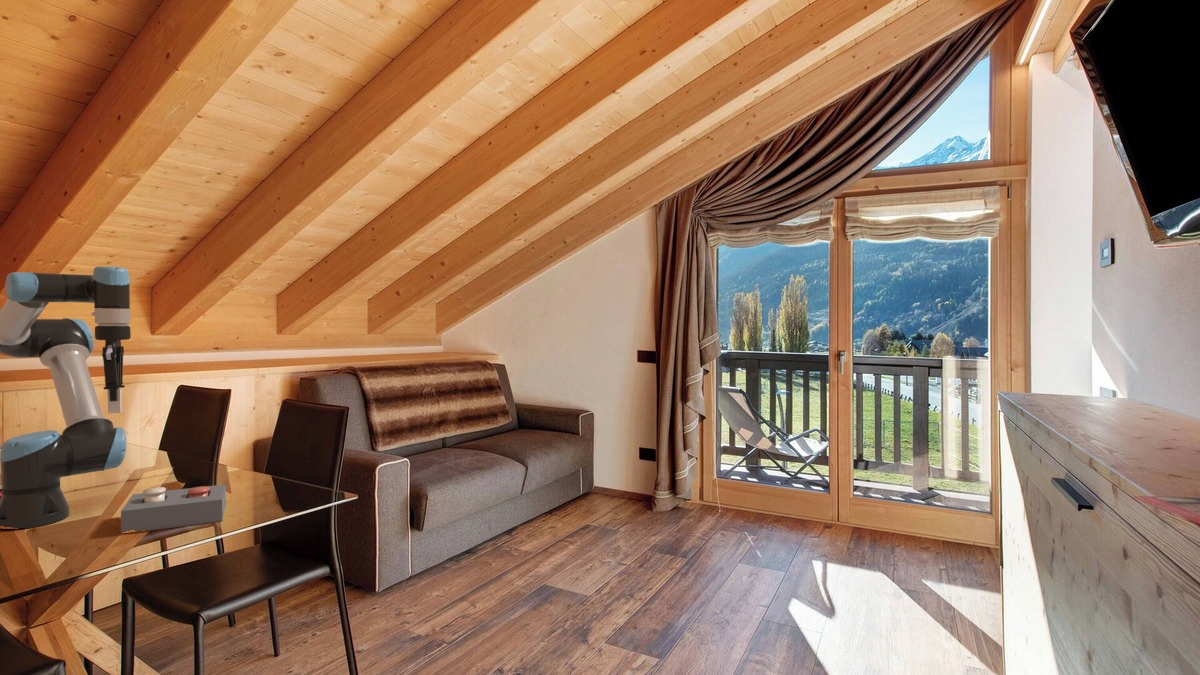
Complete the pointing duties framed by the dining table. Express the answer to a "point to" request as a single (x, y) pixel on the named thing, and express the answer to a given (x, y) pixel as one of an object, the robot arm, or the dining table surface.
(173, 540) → the dining table surface
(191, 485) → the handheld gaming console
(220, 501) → the grey plunger base
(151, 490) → the ivory plunger
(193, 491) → the red plunger
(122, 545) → the dining table surface
